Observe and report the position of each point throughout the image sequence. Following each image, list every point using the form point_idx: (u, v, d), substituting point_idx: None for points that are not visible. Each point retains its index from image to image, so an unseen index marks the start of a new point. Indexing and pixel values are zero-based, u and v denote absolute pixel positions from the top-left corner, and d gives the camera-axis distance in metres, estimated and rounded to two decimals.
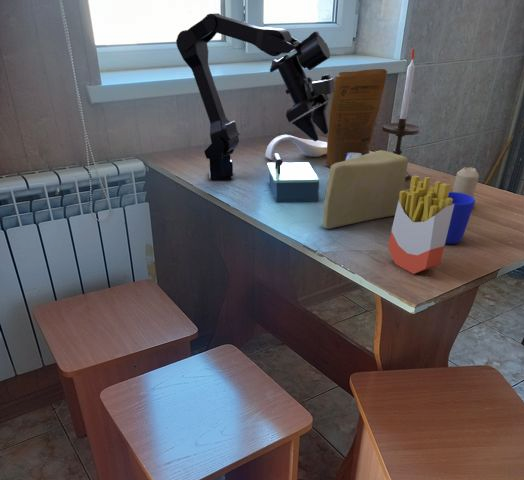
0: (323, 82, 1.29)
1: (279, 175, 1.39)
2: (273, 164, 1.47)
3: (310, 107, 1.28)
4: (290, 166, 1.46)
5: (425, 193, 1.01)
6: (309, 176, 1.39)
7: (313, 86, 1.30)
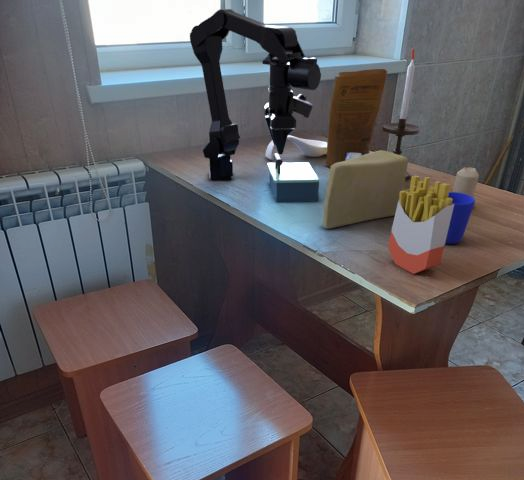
0: (308, 105, 1.31)
1: (279, 175, 1.39)
2: (273, 164, 1.47)
3: None
4: (290, 166, 1.46)
5: (425, 193, 1.01)
6: (309, 176, 1.39)
7: (297, 103, 1.31)
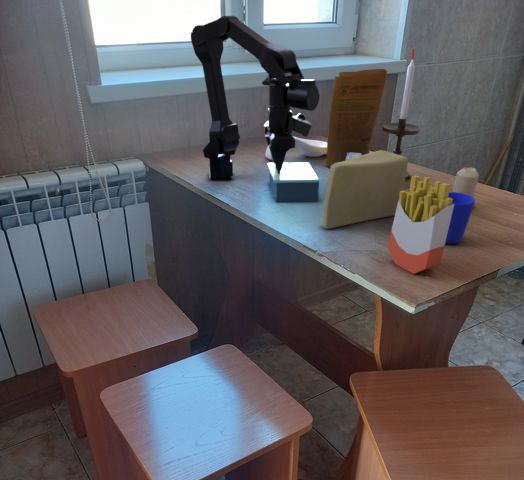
0: (307, 124, 1.34)
1: (279, 175, 1.39)
2: (273, 164, 1.47)
3: None
4: (290, 166, 1.46)
5: (425, 193, 1.01)
6: (309, 176, 1.39)
7: (297, 123, 1.33)
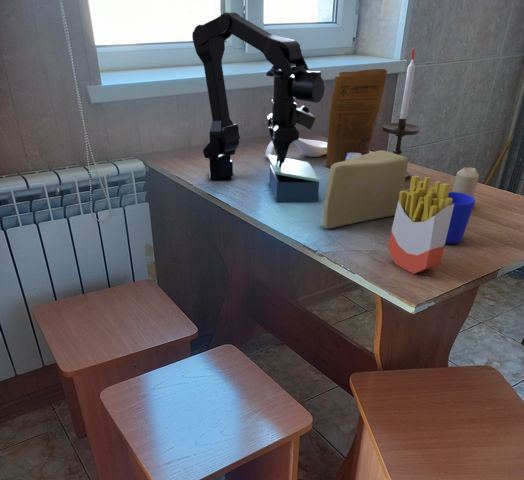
0: (311, 117, 1.33)
1: (280, 168, 1.38)
2: (274, 157, 1.46)
3: None
4: (290, 162, 1.45)
5: (425, 193, 1.01)
6: (309, 174, 1.38)
7: (300, 115, 1.32)
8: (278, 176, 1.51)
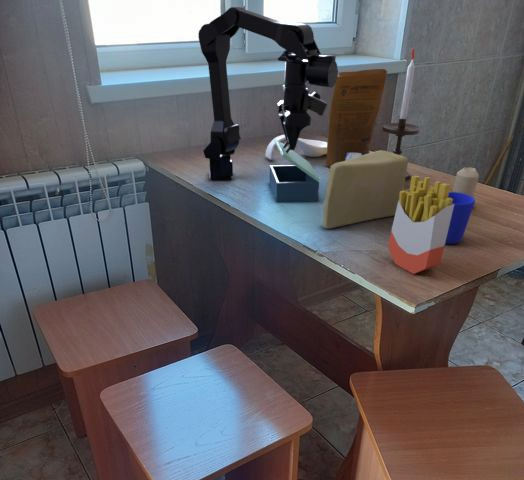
0: (322, 103, 1.31)
1: (287, 153, 1.36)
2: (281, 143, 1.44)
3: None
4: (294, 154, 1.44)
5: (425, 193, 1.01)
6: (311, 172, 1.38)
7: (312, 101, 1.31)
8: (278, 176, 1.51)
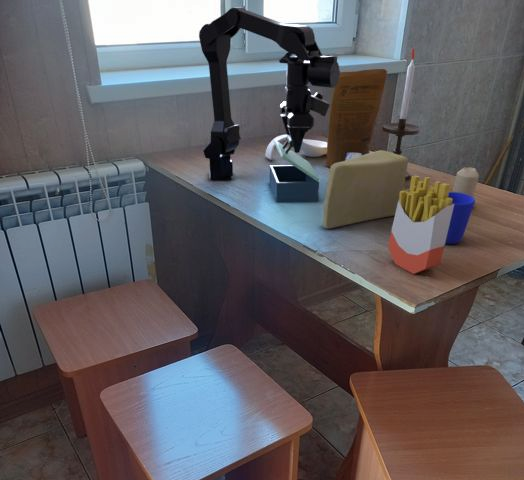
0: (325, 103, 1.31)
1: (286, 154, 1.36)
2: (280, 144, 1.44)
3: None
4: (294, 155, 1.44)
5: (425, 193, 1.01)
6: (311, 172, 1.38)
7: (315, 102, 1.31)
8: (278, 176, 1.51)
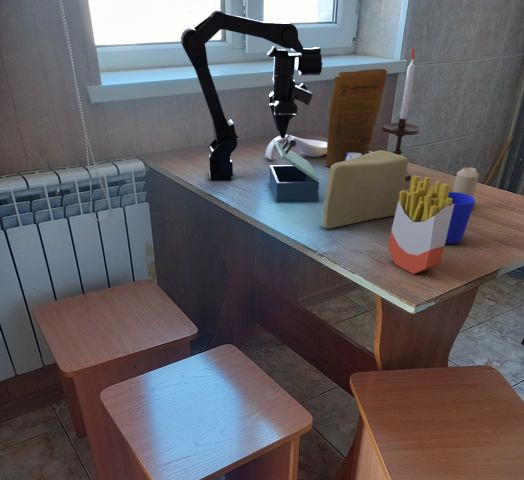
0: (308, 93, 1.45)
1: (286, 154, 1.36)
2: (280, 144, 1.44)
3: None
4: (294, 155, 1.44)
5: (425, 193, 1.01)
6: (311, 172, 1.38)
7: (299, 91, 1.44)
8: (278, 176, 1.51)
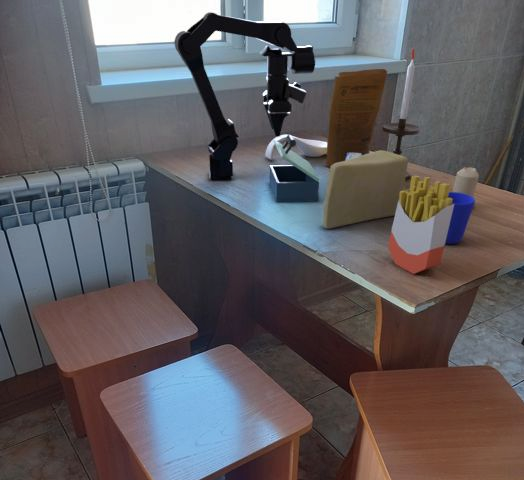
0: (302, 92, 1.46)
1: (286, 154, 1.36)
2: (280, 144, 1.44)
3: None
4: (294, 155, 1.44)
5: (425, 193, 1.01)
6: (311, 172, 1.38)
7: (293, 90, 1.45)
8: (278, 176, 1.51)
